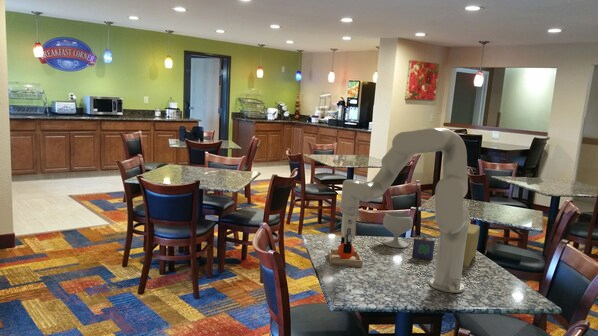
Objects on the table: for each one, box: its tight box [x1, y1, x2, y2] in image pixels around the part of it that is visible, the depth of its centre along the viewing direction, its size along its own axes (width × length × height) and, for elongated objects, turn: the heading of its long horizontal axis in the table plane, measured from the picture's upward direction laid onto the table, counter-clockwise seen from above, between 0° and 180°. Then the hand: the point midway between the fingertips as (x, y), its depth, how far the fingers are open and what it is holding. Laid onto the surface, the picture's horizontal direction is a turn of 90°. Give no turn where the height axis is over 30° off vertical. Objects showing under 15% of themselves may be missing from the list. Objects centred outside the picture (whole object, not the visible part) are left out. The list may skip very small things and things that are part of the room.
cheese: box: [463, 223, 481, 268], centre depth 210 cm, size 22×10×15 cm, turn 162°
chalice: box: [382, 211, 413, 249], centre depth 226 cm, size 14×14×15 cm
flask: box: [411, 234, 436, 261], centre depth 207 cm, size 9×3×11 cm, turn 88°
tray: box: [327, 248, 364, 268], centre depth 196 cm, size 13×13×2 cm
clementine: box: [337, 243, 355, 259], centre depth 195 cm, size 8×7×7 cm
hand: (345, 249), depth 196 cm, fingers open, 9 cm apart
